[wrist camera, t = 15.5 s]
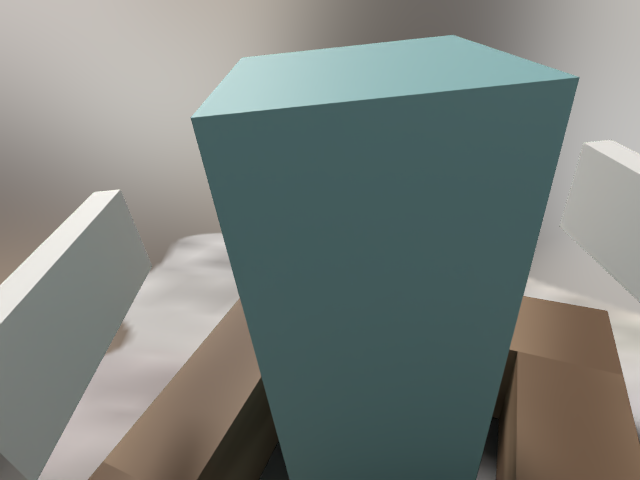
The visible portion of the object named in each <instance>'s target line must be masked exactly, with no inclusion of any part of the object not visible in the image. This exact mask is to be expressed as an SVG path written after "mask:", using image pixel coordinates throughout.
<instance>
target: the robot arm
mask: <svg viewBox="0 0 640 480" xmlns="http://www.w3.org/2000/svg"><path fill="white" fill-rule="evenodd" d="M559 227H560V228H561V229H562V230H563V231H565V232H566V233H567V234H568V235H569V236H570V237H571V238H572V239H573V240H574V241H575V242H576V243H577V244H578V245H579V246H580V247H582V248H583V249H584V250H585V251H586V252H587V253H588V254H589V255H590V256H591V257H592V258H593V259H594V260H595V261H596V262H597V263H598V264H600V265H601V266H602V267H603V268H604V269H605V270H606V271H607V272H608V273H609V274H610V275H611V276H612V277H613V278H614V279H615V280H616V281H618V282H619V283H620V284H621V285H622V286H623V287H624V288H625V289H626V290H627V291H628V292H629V293H630V294H631V295H632V296H633V297H635V298H636V299H637V300H638V301H639V302H640V154H638V153H636V152H634V151H632V150H630V149H628V148H626V147H624V146H622V145H620V144H618V143H616V142H615V141H613V140H605V141H595V142H585V143H583V146H582V150H581V153H580V157H579V160H578V164H577V167H576V171H575V175H574V177H573V181H572V184H571V188H570V192H569V195H568V198H567V202H566V205H565V209H564V212H563V216H562V219H561V223H560V226H559ZM151 267H152V265H151V262H150V260H149V257H148V255H147V253H146V250H145V248H144V245H143V243H142V241H141V238H140V236H139V233H138V231H137V229H136V226H135V224H134V221H133V219H132V216H131V214H130V212H129V209H128V207H127V204H126V202H125V199H124V197H123V195H122V192H121V190H111V191H101V192H94V193H93V194H92V195H91V196H90V197H89V198H88V199H87V200H86V201H85V202H84V203H83V204H82V205H81V206H80V207H79V208H78V209H77V210H76V211H75V212H74V213H73V214H72V215H71V216H70V217H69V218H68V219H66V220H65V222H63V223H62V224H61V225H60V226H59V228H57V229H56V230H55V231H54V232H53V233H52V234H51V235H50V236H49V238H47V239H46V241H44V242H43V243H42V244H41V245H40V246H39V247H38V248H37V249H36V250H35V251H34V252H33V253H32V254H31V255H30V256H29V257H28V258H27V259H26V260H25V261H24V262H23V263H22V264H21V265H20V266H19V267H18V268H17V269H16V270H15V271H14V272H13V273H12V274H11V275H10V276H9V277H8V278H7V279H6V280H5V281H4V282H3V283H2V284H1V285H0V480H37V479H38V478H39V476H40V474H41V472H42V470H43V468H44V466H45V465H46V463H47V461H48V459H49V457H50V455H51V453H52V452H53V450H54V448H55V446H56V444H57V442H58V440H59V438H60V437H61V435H62V433H63V431H64V429H65V427H66V425H67V424H68V422H69V420H70V418H71V416H72V414H73V412H74V411H75V409H76V407H77V405H78V403H79V401H80V399H81V398H82V396H83V394H84V392H85V390H86V388H87V386H88V384H89V383H90V381H91V379H92V377H93V375H94V373H95V371H96V370H97V368H98V366H99V364H100V362H101V360H102V358H103V357H104V355H105V353H106V351H107V349H108V347H109V345H110V343H111V342H112V340H113V338H114V336H115V334H116V332H117V330H118V329H119V327H120V325H121V323H122V321H123V319H124V317H125V316H126V314H127V312H128V310H129V308H130V306H131V304H132V303H133V301H134V299H135V297H136V295H137V293H138V291H139V290H140V288H141V286H142V284H143V282H144V280H145V278H146V277H147V275H148V273H149V271H150V269H151Z"/></svg>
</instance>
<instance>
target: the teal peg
mask: <svg viewBox="0 0 640 480" xmlns="http://www.w3.org/2000/svg"><path fill="white" fill-rule="evenodd" d="M578 81H579V77H577V76H574V75H571V74H568V73H565V72H562V71H559V70H556V69H553V68H550V67H547V66H544V65H541V64H538V63H535V62H532V61H529V60H526V59H523V58H520V57H517V56H514V55H511V54H508V53H505V52H502V51H499V50H496V49H493V48H491V47H487V46H485V45H482V44H478V43H475V42H473V41H470V40H466V39H464V38H461V37H458V36H455V35H449V36H439V37H431V38H420V39H411V40H402V41H392V42H383V43H374V44H365V45H355V46H346V47H337V48H327V49H318V50H309V51H299V52H290V53H282V54H272V55H263V56H253V57H243V58H241V59H240V60H239V62H238V63H237V64H236V65H235V66H234V67H233V69H232V70H231V71H230V72H229V73H228V74H227V76H226V77H225V78H224V79H223V80H222V82H221V83H220V84H219V85H218V86H217V87H216V89H215V90H214V91H213V92H212V93H211V94H210V96H209V97H208V98H207V99H206V100H205V102H204V103H203V104H202V105H201V106H200V107H199V109H198V110H197V111H196V112H195V113H194V115H193V116H192V117H191V121H192V124H193V128H194V132H195V135H196V139H197V143H198V146H199V150H200V154H201V157H202V161H203V165H204V168H205V172H206V175H207V179H208V183H209V186H210V190H211V194H212V198H213V201H214V205H215V208H216V212H217V216H218V220H219V223H220V227H221V231H222V234H223V238H224V242H225V245H226V249H227V252H228V256H229V260H230V263H231V267H232V271H233V274H234V278H235V282H236V285H237V289H238V293H239V296H240V300H241V304H242V307H243V311H244V315H245V318H246V322H247V326H248V329H249V333H250V337H251V340H252V344H253V348H254V351H255V355H256V359H257V362H258V366H259V370H260V373H261V377H262V381H263V384H264V388H265V392H266V395H267V399H268V403H269V406H270V410H271V414H272V417H273V421H274V424H275V428H276V432H277V435H278V439H279V443H280V446H281V450H282V454H283V457H284V461H285V465H286V468H287V472H288V476H289V479H290V480H476V477H477V473H478V469H479V466H480V462H481V458H482V454H483V450H484V446H485V442H486V438H487V434H488V431H489V427H490V423H491V419H492V415H493V411H494V407H495V403H496V400H497V396H498V392H499V388H500V384H501V380H502V376H503V372H504V368H505V365H506V361H507V357H508V353H509V349H510V345H511V341H512V337H513V333H514V330H515V326H516V322H517V318H518V314H519V310H520V306H521V302H522V298H523V295H524V291H525V287H526V283H527V279H528V275H529V271H530V267H531V263H532V260H533V255H534V252H535V248H536V244H537V240H538V236H539V232H540V228H541V225H542V221H543V217H544V213H545V209H546V205H547V201H548V197H549V193H550V190H551V186H552V182H553V178H554V174H555V170H556V166H557V162H558V159H559V155H560V151H561V147H562V143H563V139H564V135H565V131H566V127H567V123H568V120H569V115H570V112H571V108H572V104H573V100H574V96H575V92H576V88H577V85H578Z"/></svg>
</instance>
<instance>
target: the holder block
mask: <svg viewBox="0 0 640 480" xmlns="http://www.w3.org/2000/svg"><path fill="white" fill-rule="evenodd" d="M492 417H495V418H498V419H499V430H498V450H497V470H496V480H640V443H639V439H638V435H637V431H636V427H635V422H634V418H633V414H632V410H631V406H630V402H629V398H628V394H627V390H626V385H625V381H624V377H623V373H622V369H621V365H620V361H619V357H618V353H617V348H616V344H615V340H614V336H613V332H612V328H611V324H610V320H609V316H608V311H605V310H599V309H593V308H588V307H582V306H576V305H571V304H565V303H560V302H554V301H548V300H543V299H537V298H531V297H526V296H523V298H522V302H521V306H520V310H519V314H518V318H517V322H516V326H515V330H514V333H513V337H512V341H511V345H510V349H509V353H508V357H507V361H506V365H505V368H504V372H503V376H502V380H501V384H500V388H499V392H498V396H497V400H496V403H495V407H494V411H493V415H492ZM278 440H279V439H278V435H277V432H276V428H275V424H274V421H273V417H272V414H271V410H270V406H269V403H268V399H267V395H266V392H265V388H264V384H263V381H262V377H261V373H260V370H259V366H258V362H257V359H256V355H255V351H254V348H253V344H252V340H251V337H250V333H249V329H248V326H247V322H246V318H245V315H244V311H243V307H242V304H241V300H240V298H239V300H238V301H237V302H236V303H235V304H234V306H233V307H232V308H231V309H230V310H229V312H228V313H227V314H226V315H225V316H224V318H223V319H222V320H221V321H220V322H219V324H218V325H217V326H216V327H215V328H214V330H213V331H212V332H211V333H210V334H209V336H208V337H207V338H206V339H205V340H204V341H203V343H202V344H201V345H200V346H199V347H198V349H197V350H196V351H195V352H194V353H193V355H192V356H191V357H190V358H189V359H188V361H187V362H186V363H185V364H184V365H183V367H182V368H181V369H180V370H179V371H178V373H177V374H176V375H175V376H174V377H173V379H172V380H171V381H170V382H169V383H168V385H167V386H166V387H165V388H164V389H163V391H162V392H161V393H160V394H159V395H158V396H157V398H156V399H155V400H154V401H153V402H152V404H151V405H150V406H149V407H148V408H147V410H146V411H145V412H144V413H143V414H142V416H141V417H140V418H139V419H138V420H137V422H136V423H135V424H134V425H133V426H132V428H131V429H130V430H129V431H128V432H127V434H126V435H125V436H124V437H123V438H122V440H121V441H120V442H119V443H118V444H117V446H116V447H115V448H114V449H113V450H112V451H111V453H110V454H109V455H108V456H107V457H106V459H105V460H104V461H103V462H102V463H101V465H100V466H99V467H98V468H97V469H96V471H95V472H94V473H93V474H92V475H91V477H90V478H89V479H88V480H259V478H260V476H261V474H262V472H263V470H264V468H265V466H266V464H267V462H268V460H269V458H270V456H271V454H272V452H273V450H274V448H275V446H276V444H277V442H278Z"/></svg>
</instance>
